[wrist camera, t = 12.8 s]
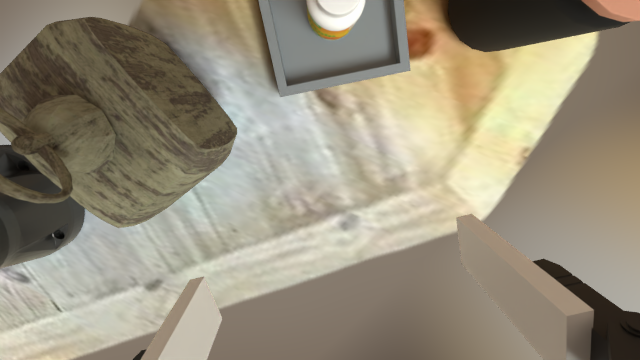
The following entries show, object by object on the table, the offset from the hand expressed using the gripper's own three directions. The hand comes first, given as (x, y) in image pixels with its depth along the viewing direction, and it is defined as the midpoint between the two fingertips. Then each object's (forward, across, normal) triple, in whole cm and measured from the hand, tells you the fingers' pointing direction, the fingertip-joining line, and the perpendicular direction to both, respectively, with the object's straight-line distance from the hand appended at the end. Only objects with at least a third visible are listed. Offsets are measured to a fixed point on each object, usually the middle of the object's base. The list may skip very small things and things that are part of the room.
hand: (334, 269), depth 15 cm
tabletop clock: (+25, -14, +10) cm, 30 cm away
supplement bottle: (+24, +5, +16) cm, 29 cm away
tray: (+25, +5, +16) cm, 30 cm away
